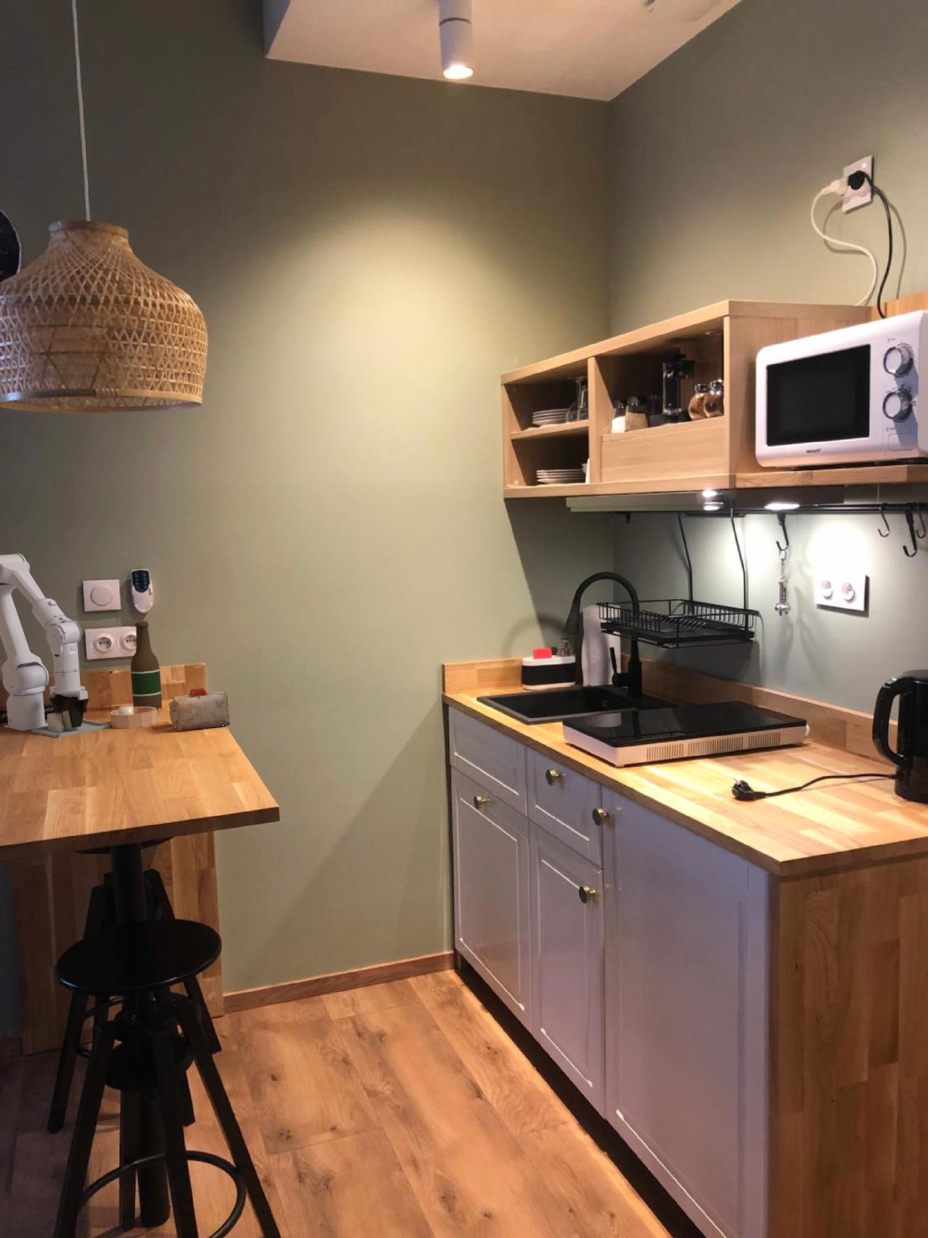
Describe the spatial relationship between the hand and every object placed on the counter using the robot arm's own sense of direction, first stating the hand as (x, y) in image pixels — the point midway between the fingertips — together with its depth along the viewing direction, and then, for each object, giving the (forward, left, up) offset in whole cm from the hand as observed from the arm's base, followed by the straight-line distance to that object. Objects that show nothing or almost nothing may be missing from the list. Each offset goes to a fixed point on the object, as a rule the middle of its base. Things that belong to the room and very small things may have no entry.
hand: (71, 725), depth 255 cm
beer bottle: (-8, +26, -2) cm, 28 cm away
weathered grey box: (+24, +20, -2) cm, 32 cm away
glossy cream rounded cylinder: (0, 0, -1) cm, 1 cm away
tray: (0, 0, -1) cm, 1 cm away
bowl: (+8, +12, -1) cm, 15 cm away
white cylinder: (0, -4, -1) cm, 4 cm away
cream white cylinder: (+8, +10, -1) cm, 13 cm away
